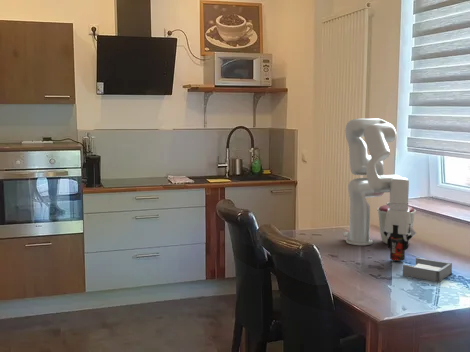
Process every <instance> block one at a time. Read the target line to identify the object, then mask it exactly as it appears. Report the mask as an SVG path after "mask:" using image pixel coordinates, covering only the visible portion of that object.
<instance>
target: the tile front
mask: <svg viewBox="0 0 470 352" xmlns="http://www.w3.org/2000/svg"><path fill="white" fill-rule="evenodd" d="M427 269H431V270H437V271H438V270H439V269H441V268H440V267H434V266H430V267H428V268H427Z"/></svg>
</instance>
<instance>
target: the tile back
mask: <svg viewBox="0 0 470 352" xmlns="http://www.w3.org/2000/svg"><path fill="white" fill-rule="evenodd" d="M414 266H415V267H420V268H426V269H427V268H428V267H430V265H424V264H417V265H416V264H415V265H414Z"/></svg>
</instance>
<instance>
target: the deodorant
mask: <svg viewBox="0 0 470 352" xmlns="http://www.w3.org/2000/svg"><path fill="white" fill-rule="evenodd" d="M398 228H399V226H397V225H393V233H391V241H390V248H389V254H390V255H389V259H390V260H391V261H399V262H400V261H401V262H402V261H404V260H405V255H406V250H405V251H404V250H403V241H404V238H403V235H400V234H398Z"/></svg>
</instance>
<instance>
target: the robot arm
mask: <svg viewBox="0 0 470 352" xmlns="http://www.w3.org/2000/svg"><path fill="white" fill-rule="evenodd" d="M344 132H345V138H346V141H347V145H348V151H349V153H348V155H349V157H348V158H349V168H350V172H351V174H353V176H354V175H355V176H366V177H359V178H358V177H357V178H353V179H351V180H350V181H348V182H349V183H348V186H347V189H348V197H349V232H348V231H347V232H346V231H343V233H342V236H343V237H346V238H347V239H346V243H347V244H349V245H352V246H369V245H372V244H373V243H374V241H373V239H371V238H370V235H371V206H370V203H369V202H368V201H367V199H368V198H379V197H382V196H383V195H384V194H385V193H389V202H387V203H386V205H387V206H389V208H390V209H388V210H387V214H386V219H385V225H384V226H383V227H382V228H381V231H382V232H383V233H384V234H385V236H386V238H387V239H388V240H387V244H386V245H387V248H388V249H390V241H391V233H393V225H397V226H399V228H398V234H400V235H403V238H404V241H403V250H404V251H405V252H406V250H408V249H409V243H408V240H410V241H411V239H412V238H413V237H415V235H417V232H416V231H415V229H414V227H413V228H412V227H411V216H410V211H409V210H408V206H409V191H410V190H409V189H410V188H409V186H410V182H409V181H410V180H409V179H408V178H407V177H402V176H401V175H398V174H385V166H384V161H385V160H387V159H388V158H389V157H390V155H391V151H390V148H389V145H388V143H392V142H394V141H395V140H396V138H397V131H396V128H395V126H394V125H393V124H392V123H390V122H388V121H386V120H384V119H381V118H356V119H355V118H354V119H351V120H349V121H348V122H347V123H346V125H345V130H344ZM362 137H364V139H365V140H363V138H362ZM368 151H369V154H368ZM410 232H411V234H410V235H408V233H410Z"/></svg>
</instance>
